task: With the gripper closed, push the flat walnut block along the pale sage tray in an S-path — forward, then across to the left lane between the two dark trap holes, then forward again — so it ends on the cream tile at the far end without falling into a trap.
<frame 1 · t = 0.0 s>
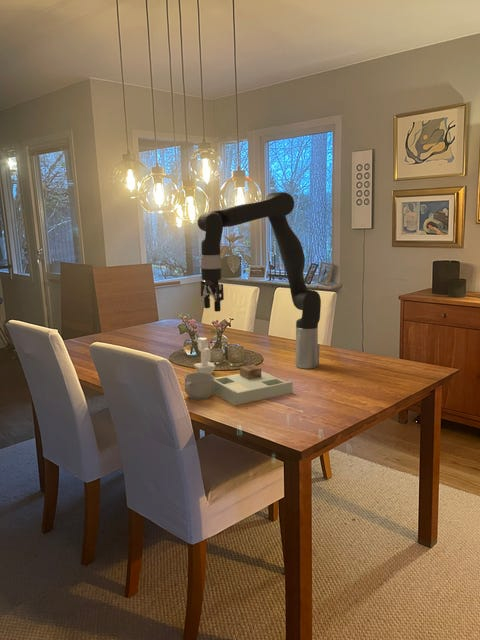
hand: (212, 309, 203), 29 cm above the table, tool pointing down, fingers open, 8 cm apart
block: (250, 376, 208), point 3 cm above the table, touching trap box
figurine: (204, 373, 222), on the table
teacup: (197, 399, 193), on the table
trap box: (248, 389, 201), on the table
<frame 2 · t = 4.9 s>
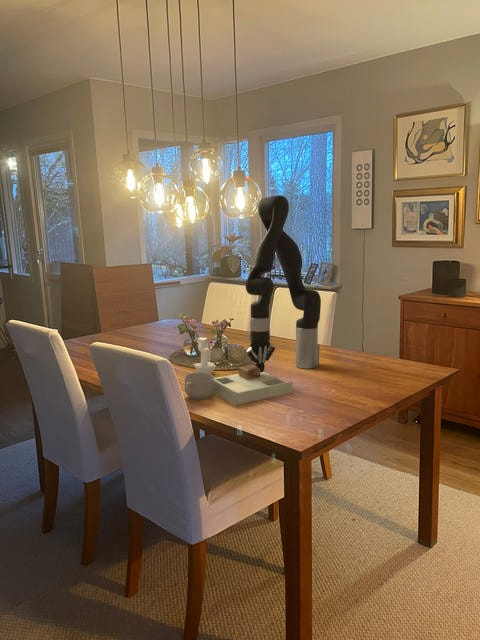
hand: (260, 371, 210), 4 cm above the table, tool pointing down, fingers closed
block: (249, 376, 207), point 3 cm above the table, touching gripper, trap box
everything else where it was.
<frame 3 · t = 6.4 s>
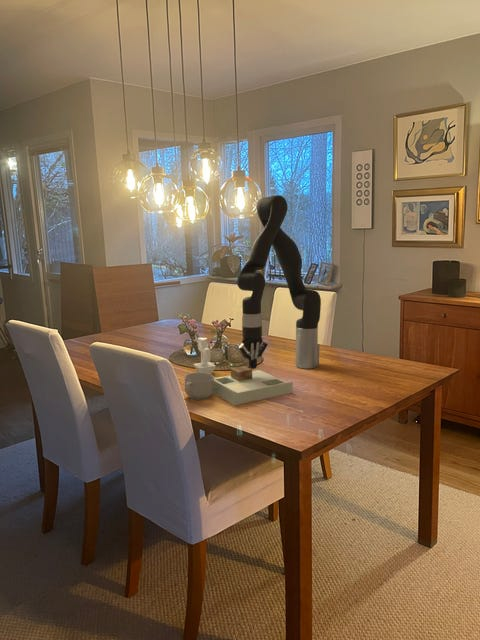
hand: (252, 368, 207), 6 cm above the table, tool pointing down, fingers closed
block: (241, 377, 206), point 3 cm above the table, touching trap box
everything else where it was.
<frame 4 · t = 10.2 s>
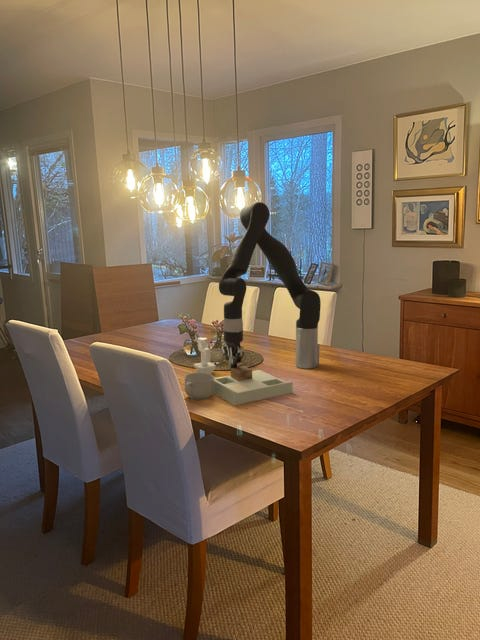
hand: (233, 372, 210), 4 cm above the table, tool pointing down, fingers closed
block: (241, 377, 206), point 3 cm above the table, touching gripper, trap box
everything else where it was.
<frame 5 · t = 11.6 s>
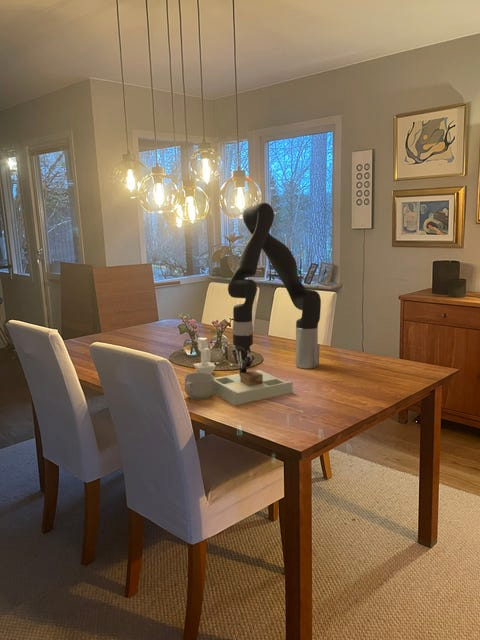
hand: (243, 376, 203), 4 cm above the table, tool pointing down, fingers closed
block: (251, 382, 200), point 3 cm above the table, touching gripper, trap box
everything else where it was.
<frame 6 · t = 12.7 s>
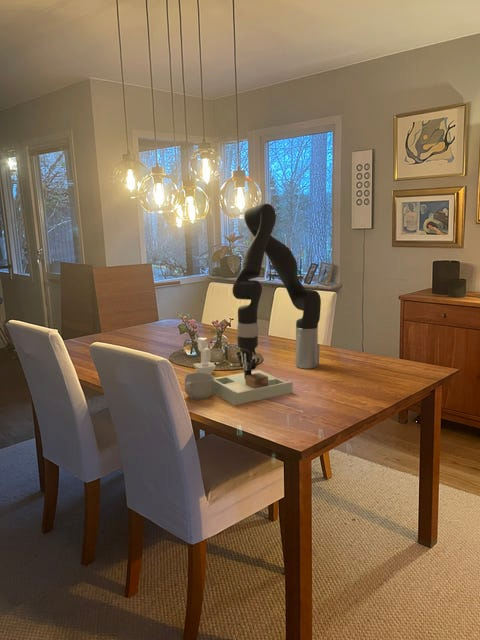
hand: (247, 379, 200), 4 cm above the table, tool pointing down, fingers closed
block: (256, 385, 197), point 3 cm above the table, touching gripper, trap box
everything else where it was.
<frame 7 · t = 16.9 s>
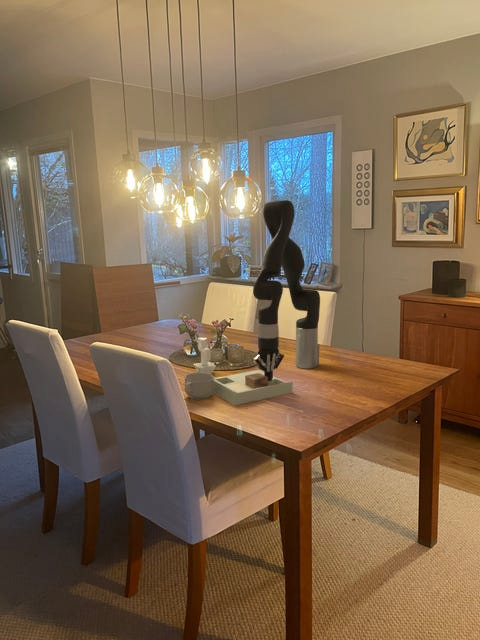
hand: (268, 380, 198), 4 cm above the table, tool pointing down, fingers closed
nothing on the table moved.
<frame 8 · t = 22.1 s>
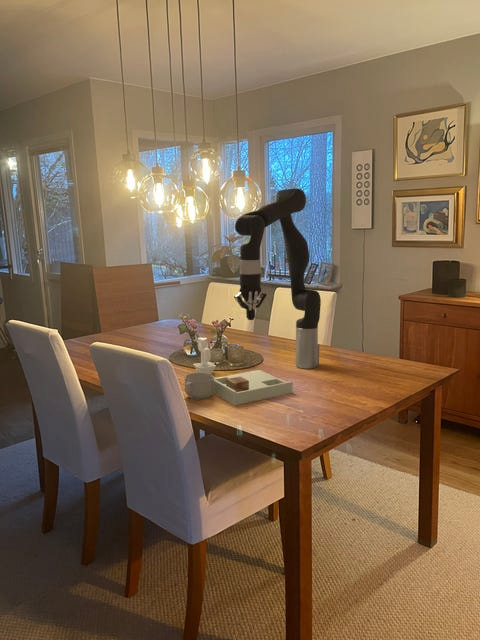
hand: (250, 319, 195), 27 cm above the table, tool pointing down, fingers closed
block: (237, 389, 193), point 3 cm above the table, touching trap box
everything else where it was.
at the end: block inside the target area (0.6 cm from its centre), point 3.0 cm above the table; block moved 16.1 cm from its start; the gripper is holding nothing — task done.
